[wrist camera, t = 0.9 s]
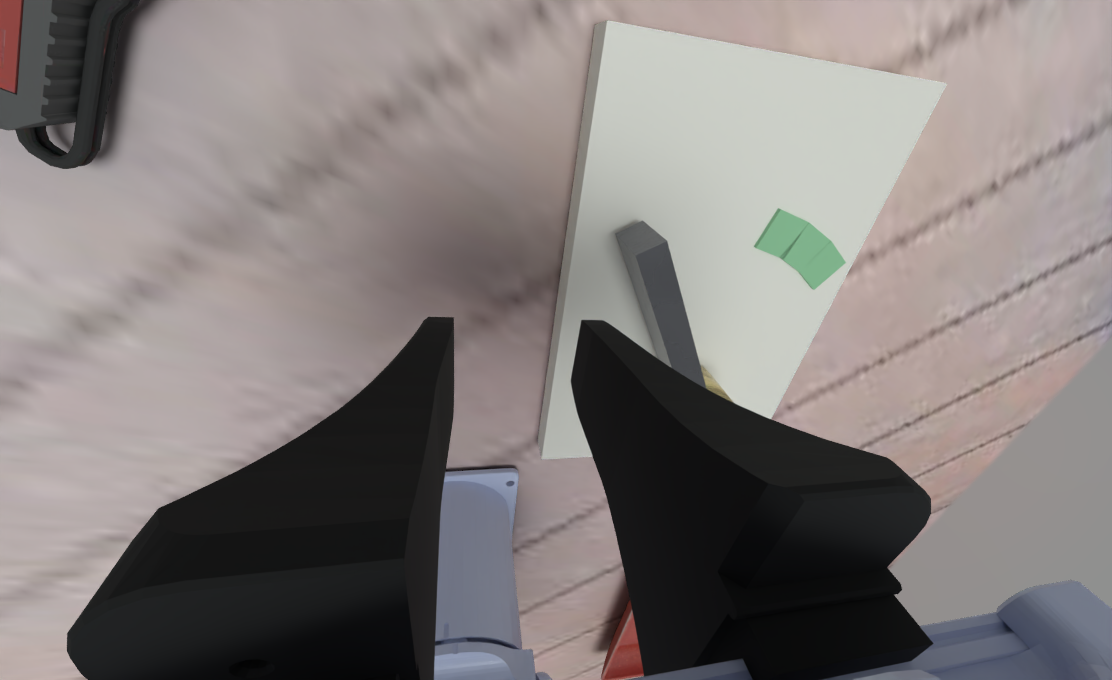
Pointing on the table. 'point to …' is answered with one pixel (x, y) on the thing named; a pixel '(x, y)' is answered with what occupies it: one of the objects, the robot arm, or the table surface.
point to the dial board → (724, 201)
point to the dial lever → (663, 302)
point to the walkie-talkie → (58, 72)
